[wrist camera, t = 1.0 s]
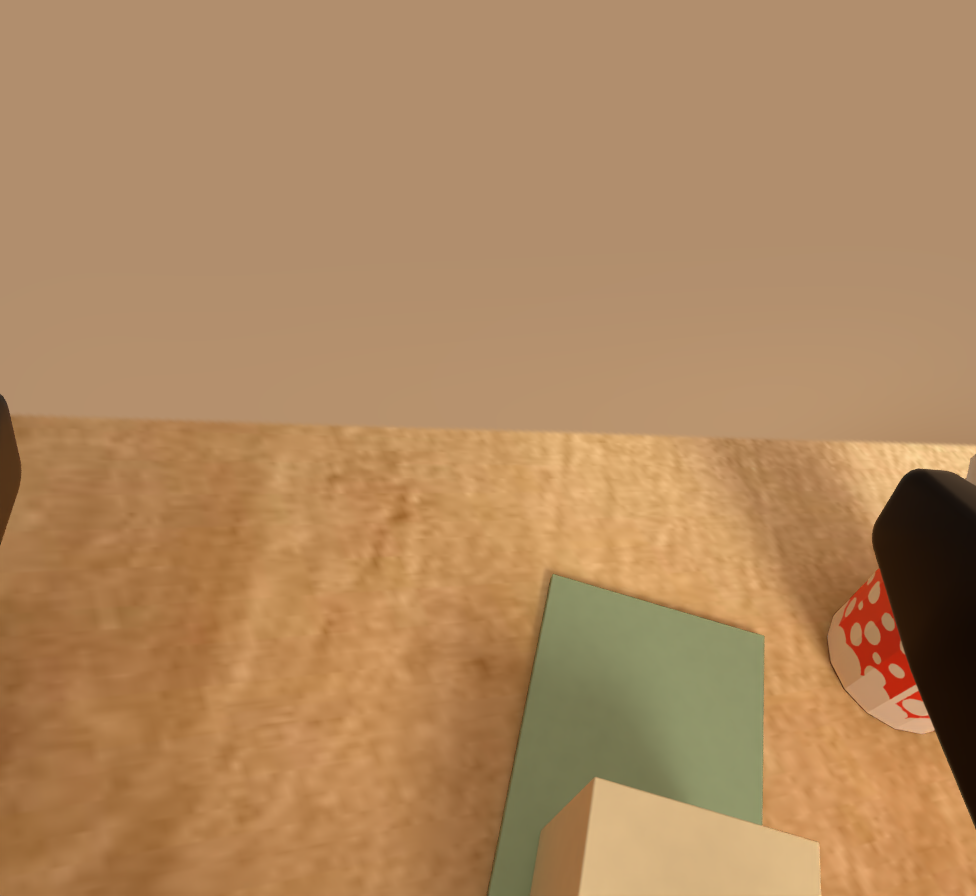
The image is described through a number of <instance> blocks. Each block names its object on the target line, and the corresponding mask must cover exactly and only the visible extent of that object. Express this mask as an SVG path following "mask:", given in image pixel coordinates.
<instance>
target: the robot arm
mask: <svg viewBox="0 0 976 896" xmlns="http://www.w3.org/2000/svg"><path fill="white" fill-rule="evenodd" d="M20 481H21V462H20V457H19V453H18V448H17V444H16V439H15V435H14V431H13V426H12V422H11V417H10V413H9V409H8V406H7V403H6V401H5V399H4V397H3V396H2V395H1V394H0V545H1V542H2V538H3V535H4V532H5V529H6V526H7V523H8V520H9V517H10V514H11V511H12V508H13V505H14V502H15V499H16V496H17V493H18V490H19V486H20ZM872 544H873V549H874V552H875V555H876V559H877V562H878V565H879V569H880V572H881V575H882V579H883V582H884V585H885V589H886V592H887V595H888V599H889V602H890V605H891V609H892V612H893V616H894V619H895V622H896V626H897V629H898V632H899V636H900V639H901V642H902V646H903V649H904V652H905V655H906V658H907V661H908V664H909V667H910V670H911V673H912V675H913V678H914V681H915V683H916V686H917V688H918V691H919V693H920V696H921V698H922V700H923V703H924V705H925V708H926V710H927V713H928V715H929V717H930V720H931V722H932V725H933V727H934V729H935V732H936V734H937V737H938V739H939V742H940V744H941V746H942V749H943V751H944V754H945V756H946V758H947V761H948V763H949V766H950V768H951V771H952V773H953V775H954V778H955V780H956V783H957V785H958V787H959V790H960V792H961V795H962V797H963V799H964V802H965V804H966V807H967V809H968V812H969V814H970V816H971V819H972V821H973V824H974V826H975V828H976V485H974V484H972V483H970V482H969V481H967V480H965V479H964V478H962V477H960V476H958V475H957V474H955V473H952V472H949V471H942V470H930V469H915V470H911V471H910V472H908V473H907V474H906V475H904V477H903V478H902V479H901V481H900V482H899V484H898V486H897V487H896V489H895V491H894V492H893V494H892V496H891V497H890V499H889V501H888V502H887V504H886V506H885V507H884V509H883V510H882V512H881V514H880V515H879V517H878V519H877V520H876V522H875V524H874V528H873V533H872Z"/></svg>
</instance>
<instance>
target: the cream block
mask: <svg viewBox="0 0 976 896" xmlns="http://www.w3.org/2000/svg"><path fill="white" fill-rule="evenodd" d="M530 896H821V875H820V844H819V842H817V841H814V840H810V839H807V838H803V837H800V836H796V835H793V834H790V833H786V832H783V831H779V830H776V829H772V828H769V827H766V826H762V825H759V824H755V823H752V822H749V821H745V820H742V819H738V818H735V817H731V816H728V815H725V814H721V813H718V812H714V811H711V810H708V809H704V808H701V807H697V806H694V805H690V804H687V803H684V802H680V801H677V800H673V799H670V798H666V797H663V796H660V795H656V794H653V793H649V792H646V791H643V790H639V789H636V788H632V787H629V786H625V785H622V784H619V783H615V782H612V781H608V780H605V779H601V778H598V777H594V778H593V779H592V780H591V781H590V782H589V783H588V784H587V785H586V786H585V787H584V788H583V789H582V790H581V791H580V792H579V793H578V794H577V795H576V796H575V797H574V798H573V799H572V800H571V801H570V802H569V803H568V804H567V805H566V806H565V807H564V808H563V809H562V810H561V811H560V812H559V813H558V814H557V815H556V816H555V817H554V818H553V819H552V820H551V821H550V822H549V823H548V824H547V825H546V826H545V827H544V828H543V829H542V830H541V832H540V838H539V844H538V850H537V856H536V862H535V867H534V873H533V879H532V885H531V891H530Z"/></svg>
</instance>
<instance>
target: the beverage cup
mask: <svg viewBox="0 0 976 896" xmlns="http://www.w3.org/2000/svg"><path fill="white" fill-rule="evenodd" d="M965 480H967V481H969V482H970V483H972V484H974V485H976V454H975V455H974V456H973V457H972V458H971V460H970V465H969V469H968V474H967V478H966V479H965ZM827 640H828V647H829V654H830V661H831V664H832V666H833V668H834V669H835V671H836V673H837V675H838V677H839V679H840V681H841V683H842V685H843V687H844V689H845V690H846V691H847V692H848V693H849V694H850V695H851V696H852V697H853V698H854V699H855V701H856V702H857V703H858V704H859V705H860V706H861V707H862V708H863V709H864V710H865V711H866V712H867V713H868V714H870V715H872V716H874V717H875V718H877V719H879V720H880V721H882V722H884V723H886V724H887V725H889V726H891V727H892V728H894V729H899V730H904V731H909V732H914V733H919V734H924V733H928V732H932V731H935V729H934V727H933V725H932V722H931V720H930V717H929V715H928V713H927V710H926V708H925V705H924V703H923V700H922V698H921V696H920V693H919V691H918V688H917V686H916V683H915V681H914V678H913V675H912V673H911V670H910V667H909V664H908V661H907V658H906V655H905V652H904V649H903V646H902V642H901V639H900V636H899V632H898V629H897V626H896V622H895V619H894V616H893V612H892V609H891V605H890V602H889V599H888V595H887V592H886V589H885V585H884V582H883V579H882V575H881V572H880V569H878V570H877V571H876V572H875V573H874V574H873V575H872V576H871V577H870V578H869V579H868V580H867V581H866V582H865V583H864V584H863V585H862V586H861V588H860V589H859V590H858V591H857V592H856V593H855V594H854V595H853V596H852V597H851V598H850V599H849V600H848V601H847V602H846V603H845V604H844V605H843V606H842V607H841V608H840V609H839V610H838V611H837V612H836V613H835V614H834V616H833V619H832V622H831V625H830V629H829V632H828V635H827Z"/></svg>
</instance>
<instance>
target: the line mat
mask: <svg viewBox="0 0 976 896" xmlns="http://www.w3.org/2000/svg"><path fill="white" fill-rule="evenodd" d="M763 715H764V636H763V635H759V634H756V633H753V632H749V631H746V630H742V629H739V628H736V627H732V626H729V625H725V624H722V623H719V622H715V621H712V620H708V619H705V618H702V617H698V616H695V615H691V614H688V613H685V612H681V611H678V610H674V609H671V608H667V607H664V606H661V605H657V604H654V603H650V602H647V601H644V600H640V599H637V598H633V597H630V596H627V595H623V594H620V593H616V592H613V591H610V590H606V589H603V588H599V587H596V586H593V585H589V584H586V583H582V582H579V581H575V580H572V579H569V578H565V577H562V576H558V575H555V574H553V575H552V577H551V579H550V584H549V589H548V594H547V599H546V604H545V609H544V614H543V619H542V624H541V629H540V634H539V639H538V644H537V649H536V654H535V659H534V664H533V669H532V674H531V679H530V684H529V689H528V694H527V699H526V704H525V709H524V714H523V719H522V724H521V729H520V733H519V738H518V743H517V748H516V753H515V758H514V763H513V768H512V773H511V778H510V783H509V788H508V793H507V798H506V803H505V808H504V813H503V818H502V823H501V828H500V833H499V838H498V843H497V848H496V853H495V858H494V863H493V868H492V873H491V878H490V883H489V888H488V893H487V896H530V891H531V885H532V879H533V873H534V867H535V862H536V856H537V850H538V844H539V838H540V832H541V830H542V829H543V828H544V827H545V826H546V825H547V824H548V823H549V822H550V821H551V820H552V819H553V818H554V817H555V816H556V815H557V814H558V813H559V812H560V811H561V810H562V809H563V808H564V807H565V806H566V805H567V804H568V803H569V802H570V801H571V800H572V799H573V798H574V797H575V796H576V795H577V794H578V793H579V792H580V791H581V790H582V789H583V788H584V787H585V786H586V785H587V784H588V783H589V782H590V781H591V780H592V779H593V778H594V777H598V778H601V779H605V780H608V781H612V782H615V783H619V784H622V785H625V786H629V787H632V788H636V789H639V790H643V791H646V792H649V793H653V794H656V795H660V796H663V797H666V798H670V799H673V800H677V801H680V802H684V803H687V804H690V805H694V806H697V807H701V808H704V809H708V810H711V811H714V812H718V813H721V814H725V815H728V816H731V817H735V818H738V819H742V820H745V821H749V822H752V823H755V824H759V825H762V804H763Z"/></svg>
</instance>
